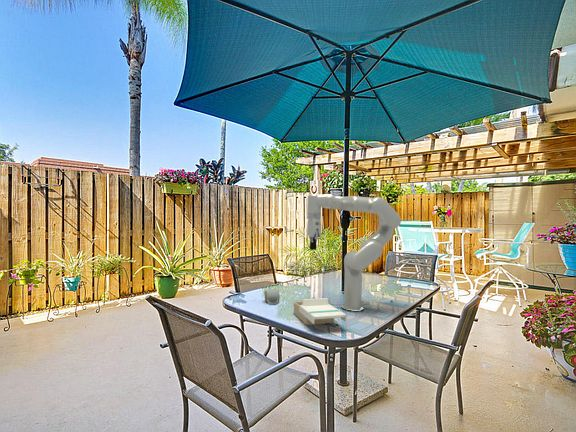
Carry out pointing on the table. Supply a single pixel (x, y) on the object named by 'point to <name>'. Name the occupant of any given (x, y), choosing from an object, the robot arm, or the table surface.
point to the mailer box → (305, 320)
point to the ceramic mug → (272, 296)
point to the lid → (319, 309)
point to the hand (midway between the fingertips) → (313, 249)
